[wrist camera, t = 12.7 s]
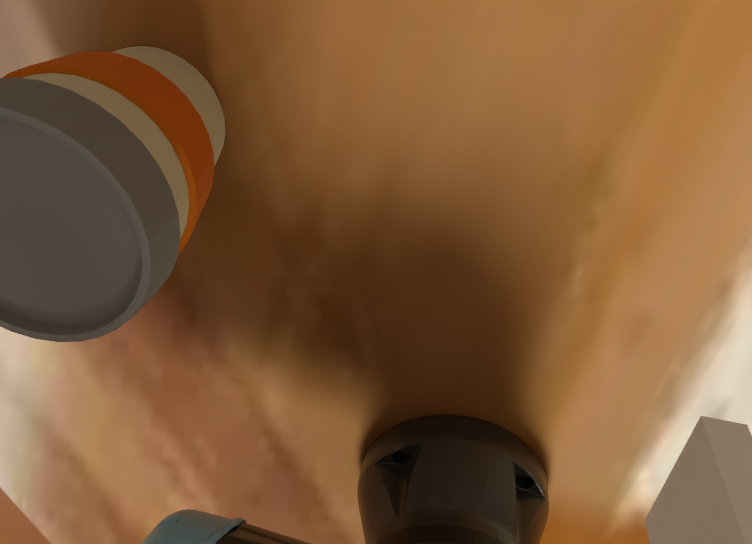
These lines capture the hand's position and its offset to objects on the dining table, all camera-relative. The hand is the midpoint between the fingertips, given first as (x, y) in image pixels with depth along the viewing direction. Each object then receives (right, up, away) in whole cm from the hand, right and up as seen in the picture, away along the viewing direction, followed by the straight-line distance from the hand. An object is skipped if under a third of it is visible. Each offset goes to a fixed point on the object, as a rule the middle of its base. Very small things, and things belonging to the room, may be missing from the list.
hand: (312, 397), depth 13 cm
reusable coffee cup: (-13, +12, +32) cm, 36 cm away
